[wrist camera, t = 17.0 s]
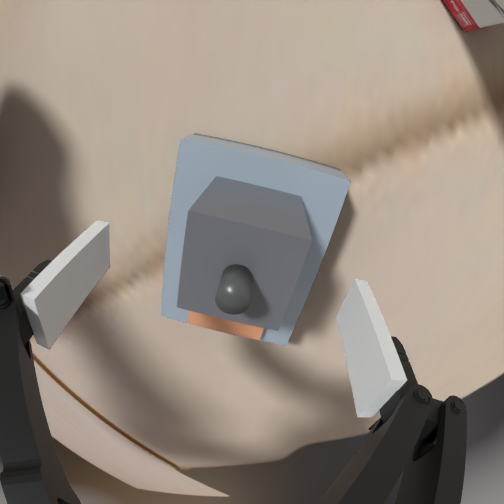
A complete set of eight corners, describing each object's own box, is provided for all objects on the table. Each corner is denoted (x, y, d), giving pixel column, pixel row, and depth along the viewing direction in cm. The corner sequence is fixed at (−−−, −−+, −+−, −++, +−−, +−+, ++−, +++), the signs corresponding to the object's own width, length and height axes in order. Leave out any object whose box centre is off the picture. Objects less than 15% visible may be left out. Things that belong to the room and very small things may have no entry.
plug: (210, 234, 25) (166, 330, 15) (223, 167, 22) (175, 227, 12) (278, 250, 26) (277, 356, 15) (298, 185, 23) (316, 261, 12)
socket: (173, 291, 30) (161, 316, 26) (195, 133, 22) (180, 139, 19) (285, 318, 30) (286, 345, 27) (339, 169, 23) (350, 181, 19)
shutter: (188, 320, 26) (179, 346, 23) (197, 258, 23) (185, 282, 20) (259, 337, 26) (257, 365, 23) (280, 278, 23) (280, 305, 20)
